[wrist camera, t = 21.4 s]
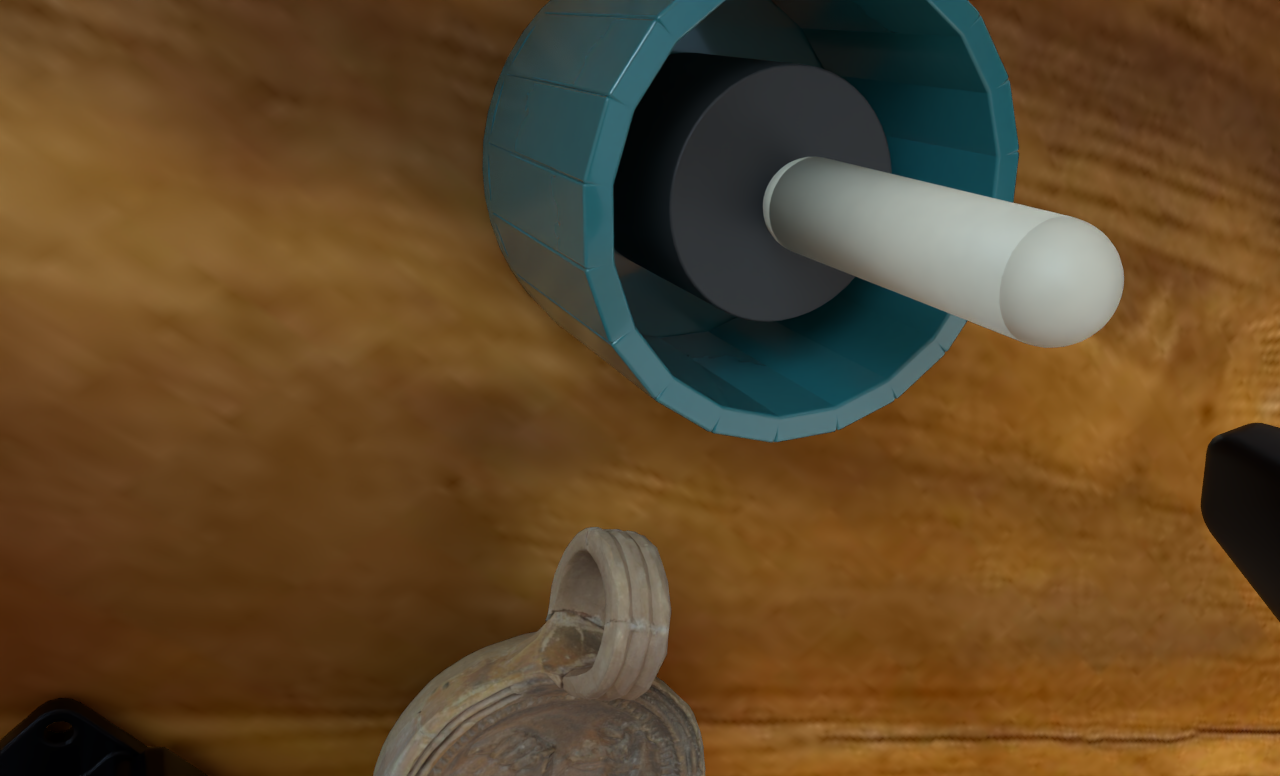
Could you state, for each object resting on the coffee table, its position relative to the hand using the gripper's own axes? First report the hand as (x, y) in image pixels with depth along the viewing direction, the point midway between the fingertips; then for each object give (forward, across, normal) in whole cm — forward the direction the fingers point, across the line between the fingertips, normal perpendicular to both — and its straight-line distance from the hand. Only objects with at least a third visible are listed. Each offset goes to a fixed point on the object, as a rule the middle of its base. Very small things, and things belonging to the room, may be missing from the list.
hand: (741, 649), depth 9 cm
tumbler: (+14, -4, +2) cm, 15 cm away
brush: (+14, -4, +2) cm, 14 cm away
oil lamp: (+12, +4, +13) cm, 18 cm away
